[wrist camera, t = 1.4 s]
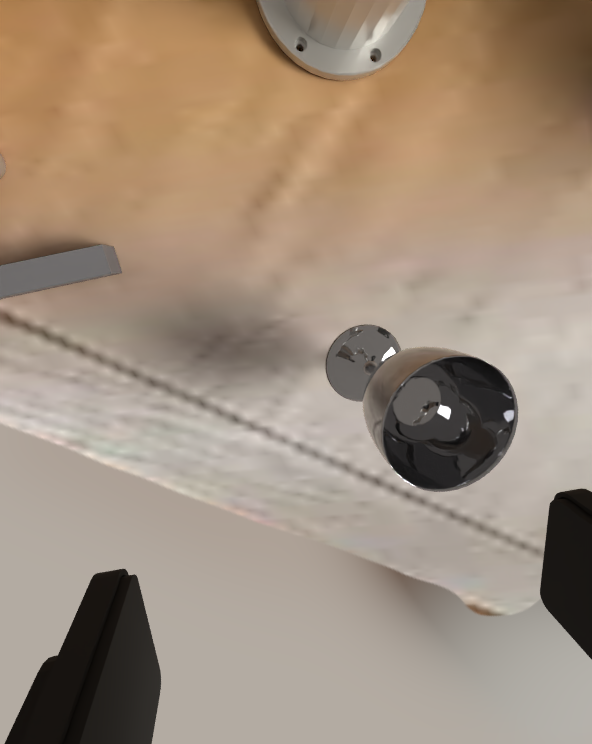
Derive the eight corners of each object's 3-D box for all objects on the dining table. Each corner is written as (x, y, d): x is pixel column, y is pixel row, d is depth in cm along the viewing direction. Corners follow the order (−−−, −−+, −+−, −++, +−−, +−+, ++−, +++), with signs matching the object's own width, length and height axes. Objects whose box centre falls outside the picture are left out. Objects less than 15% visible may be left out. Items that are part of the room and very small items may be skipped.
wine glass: (303, 362, 35) (353, 426, 21) (371, 301, 35) (469, 324, 21) (358, 422, 38) (436, 517, 23) (422, 365, 37) (542, 427, 23)
